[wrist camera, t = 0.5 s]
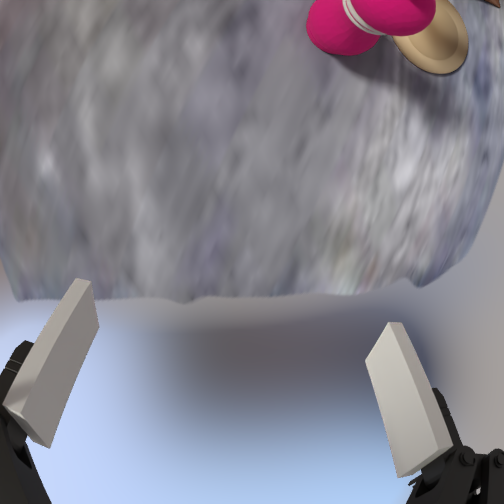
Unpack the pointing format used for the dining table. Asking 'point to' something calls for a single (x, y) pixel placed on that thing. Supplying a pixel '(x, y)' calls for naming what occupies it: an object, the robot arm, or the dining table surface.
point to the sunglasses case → (494, 2)
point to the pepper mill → (365, 22)
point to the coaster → (437, 42)
